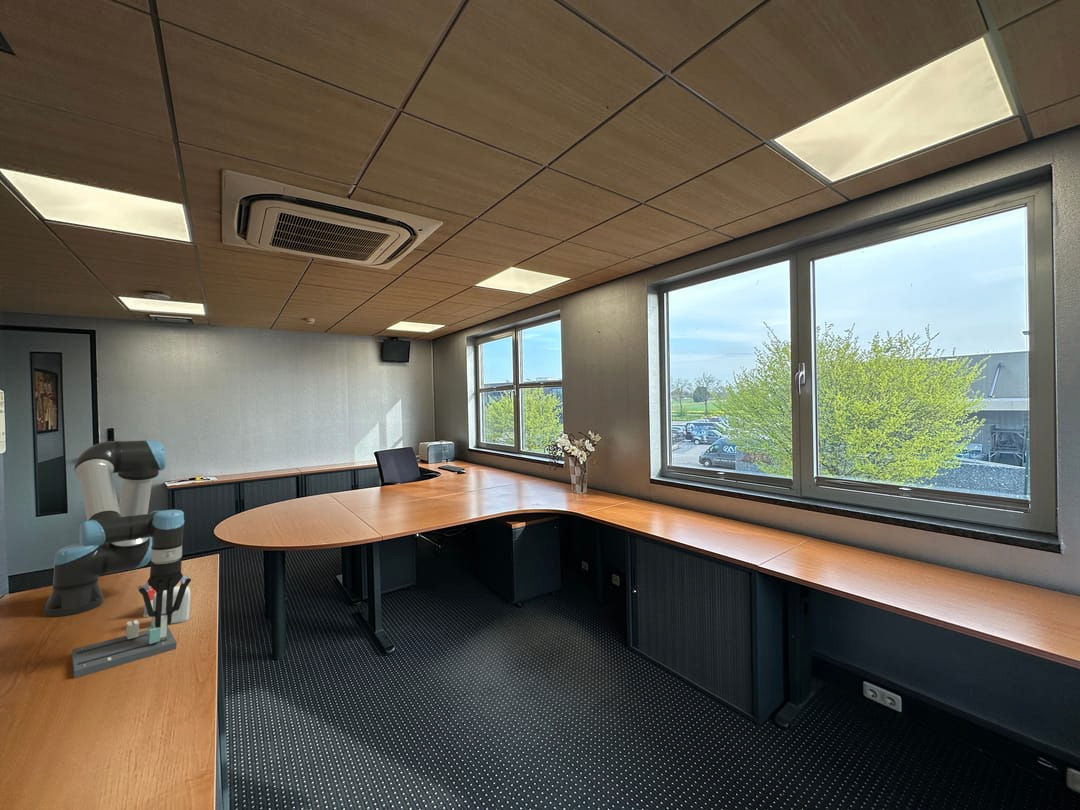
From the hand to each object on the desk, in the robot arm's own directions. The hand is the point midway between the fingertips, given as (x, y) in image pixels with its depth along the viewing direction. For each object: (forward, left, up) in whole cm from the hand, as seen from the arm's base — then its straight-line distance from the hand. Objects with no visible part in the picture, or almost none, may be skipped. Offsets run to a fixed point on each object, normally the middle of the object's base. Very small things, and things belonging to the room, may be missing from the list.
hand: (162, 635), depth 138 cm
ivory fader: (-8, -6, -1) cm, 10 cm away
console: (-4, -8, -4) cm, 10 cm away
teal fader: (0, -2, -1) cm, 2 cm away
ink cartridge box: (-32, +4, -4) cm, 33 cm away
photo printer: (-18, +5, -4) cm, 19 cm away
